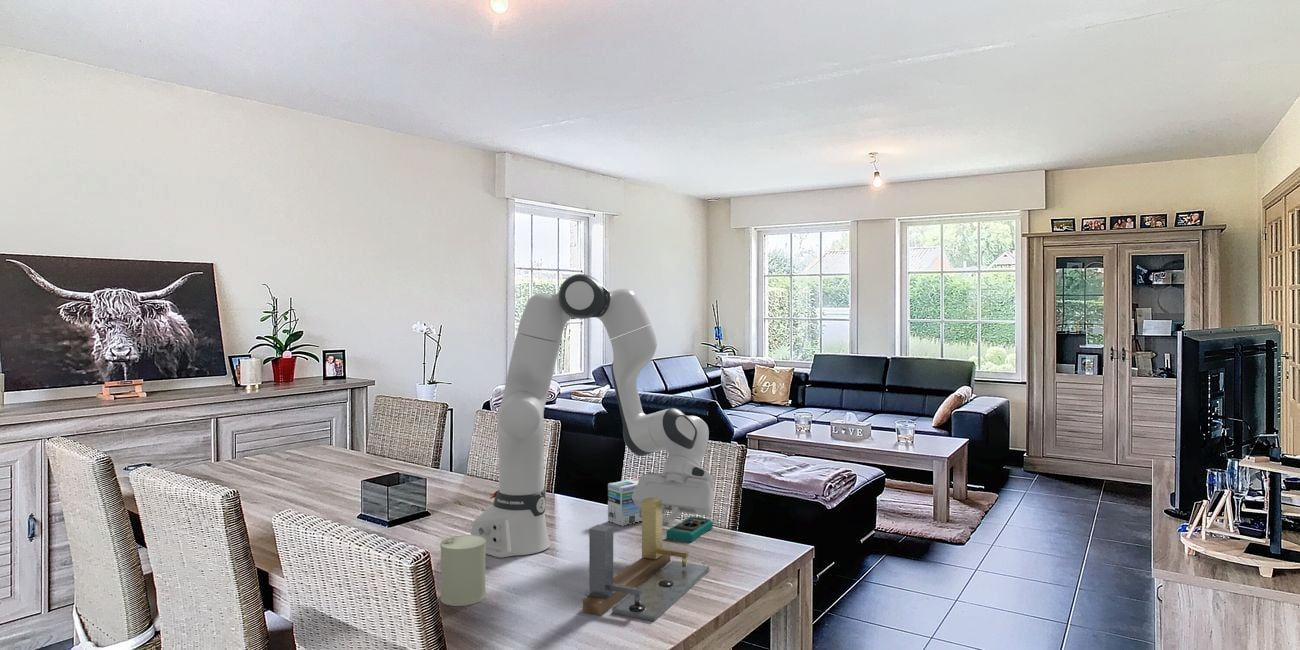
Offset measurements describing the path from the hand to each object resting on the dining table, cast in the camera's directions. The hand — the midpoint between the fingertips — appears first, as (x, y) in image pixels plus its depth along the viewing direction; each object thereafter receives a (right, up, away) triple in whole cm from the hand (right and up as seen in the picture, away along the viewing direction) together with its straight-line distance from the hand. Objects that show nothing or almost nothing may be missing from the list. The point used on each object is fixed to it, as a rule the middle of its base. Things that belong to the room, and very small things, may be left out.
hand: (664, 525), depth 174 cm
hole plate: (0, -9, -19) cm, 21 cm away
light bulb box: (-9, -8, +32) cm, 35 cm away
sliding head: (0, -7, -7) cm, 10 cm away
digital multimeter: (+7, -8, +21) cm, 24 cm away
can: (-42, -9, -23) cm, 49 cm away
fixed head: (-10, -7, -29) cm, 31 cm away
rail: (-8, -8, -16) cm, 19 cm away
